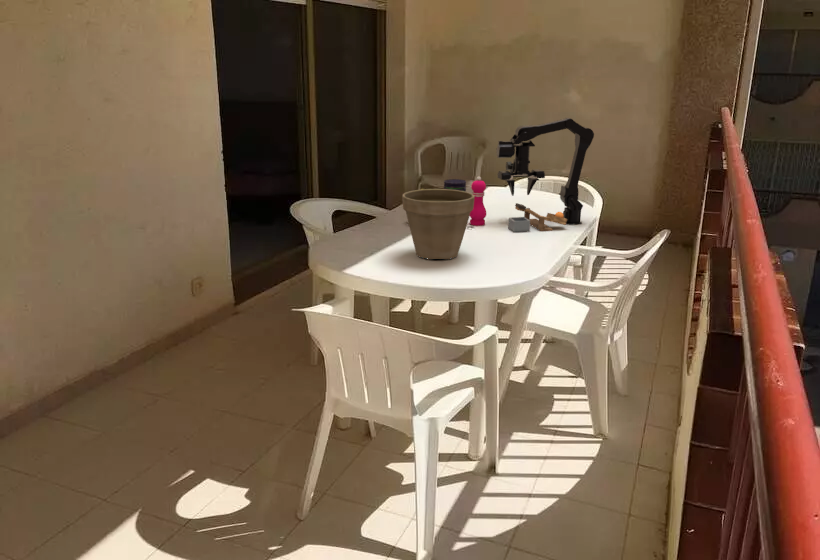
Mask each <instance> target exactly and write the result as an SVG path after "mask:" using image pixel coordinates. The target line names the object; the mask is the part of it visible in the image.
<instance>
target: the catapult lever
mask: <svg viewBox="0 0 820 560" xmlns="http://www.w3.org/2000/svg"><path fill="white" fill-rule="evenodd" d="M514 206H515V207H514V208H515V210H517V211H520V212H524V213H525V212H528V213H530V216H531V215H532V216H533V217H535V219H537V220H539V217H545V222H546V221H547V222H551V223H555V224H559V225H564V226H566V222H567V219H566V218H564V217H563V218H560V217H556V216H555V214H556V213H551V212H547V213H546V216H543V215H540V214H538V213H537V212H535V211H533V209H532V210H531V209H530V210H529V209H526V208H527V206H525V205H524V204H521V203H515V205H514Z"/></svg>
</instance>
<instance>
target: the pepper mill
mask: <svg viewBox="0 0 820 560" xmlns="http://www.w3.org/2000/svg"><path fill="white" fill-rule="evenodd" d="M470 188H471V190H472V193H471V194H473V195H474V207H473V210H472V211H471V212H470V216H469V225H471V226H475V227H480V226H484V225H486V219H485V218H486V217H487V210H486V208H485V204H484V196H485V190H486V189H487V185H486V183H485V181H484V180H482V177H481V176H477V177H476V180H474V181H472V183H471V187H470Z"/></svg>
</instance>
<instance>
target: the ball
mask: <svg viewBox="0 0 820 560" xmlns="http://www.w3.org/2000/svg"><path fill="white" fill-rule="evenodd" d="M554 214H555V216H556V217H560V218H563V217H564V215H563V211H557V212H555V213H554Z"/></svg>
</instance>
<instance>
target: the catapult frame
mask: <svg viewBox="0 0 820 560" xmlns="http://www.w3.org/2000/svg"><path fill="white" fill-rule="evenodd" d="M526 209H529V210H531V208H529V207H526ZM523 217H525V218H527V219H528V220H530V224H531V225H530V226H532V225H533V226H534V227H533V226H532V227H533V228H535V227H536V228H537V230H538V229H539V230H538V231H539V232H550V231H553V228H552V227H551V226H548V225H547V224H545V222H546V220H545V217H546V216H544V217H539V219H538V218H530V217H531V214H530V213H528V212H524V216H523ZM536 228H535V229H536Z"/></svg>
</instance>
